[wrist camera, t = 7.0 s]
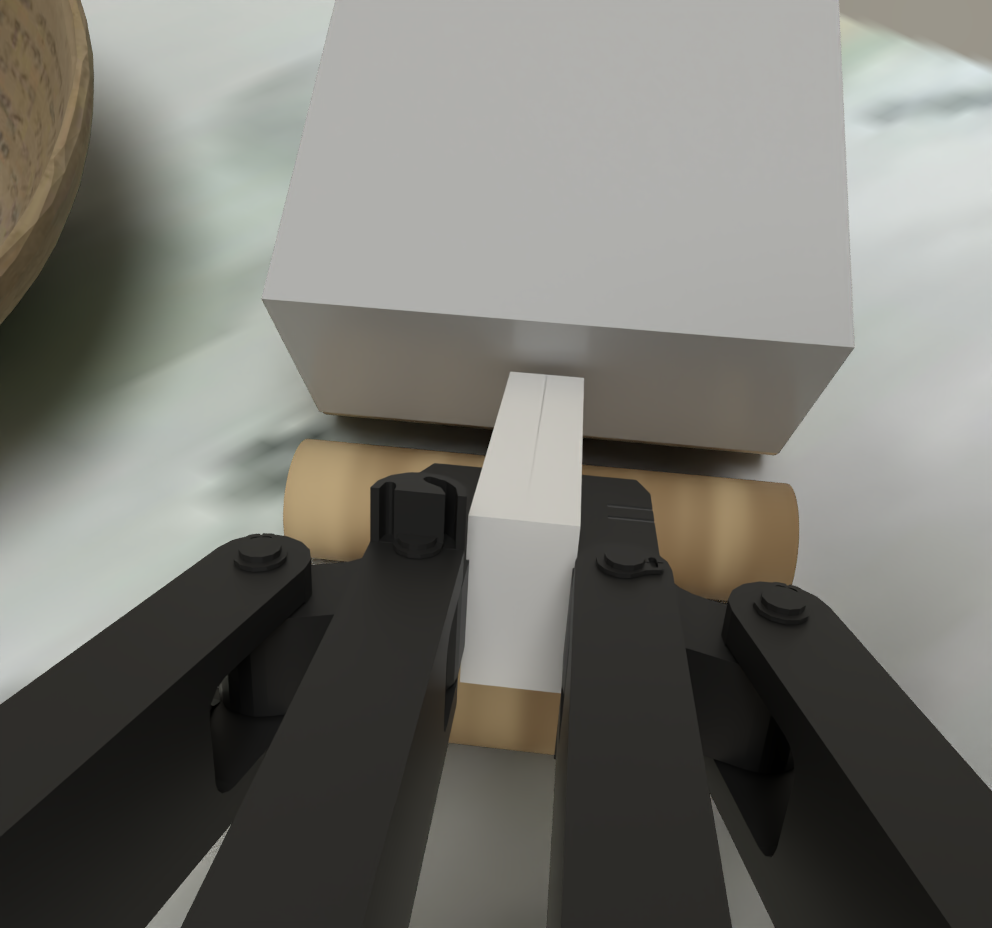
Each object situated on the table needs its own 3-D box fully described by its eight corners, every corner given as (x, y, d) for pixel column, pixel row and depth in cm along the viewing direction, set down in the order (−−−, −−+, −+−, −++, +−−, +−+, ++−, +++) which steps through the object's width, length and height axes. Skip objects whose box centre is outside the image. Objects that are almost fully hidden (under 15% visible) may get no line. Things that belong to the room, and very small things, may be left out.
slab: (776, 121, 24) (836, -45, 19) (778, 453, 20) (854, 347, 16) (385, 95, 25) (352, -70, 20) (319, 411, 21) (261, 298, 16)
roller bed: (764, 256, 26) (793, 190, 23) (765, 783, 21) (803, 779, 18) (373, 227, 27) (356, 160, 24) (274, 725, 21) (236, 713, 19)
